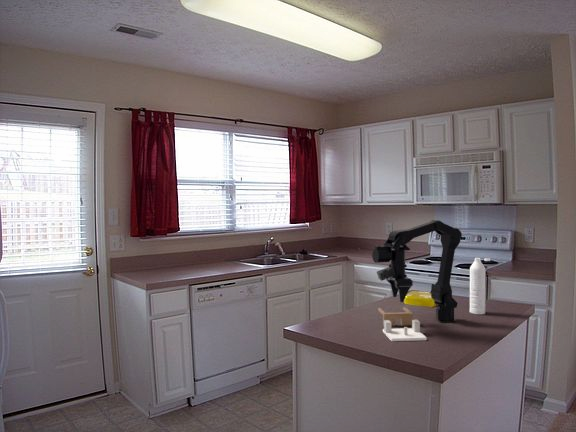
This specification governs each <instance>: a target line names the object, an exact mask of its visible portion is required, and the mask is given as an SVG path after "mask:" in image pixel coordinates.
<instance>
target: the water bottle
mask: <svg viewBox="0 0 576 432" xmlns="http://www.w3.org/2000/svg"><path fill="white" fill-rule="evenodd" d="M484 262H491V258H484ZM469 313H470V314H473V315H485V314H486V267H485V266H484V264H483V262H482V261H481V258H480V257H474V261H473V263H472V264H471V265H470V267H469Z"/></svg>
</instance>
